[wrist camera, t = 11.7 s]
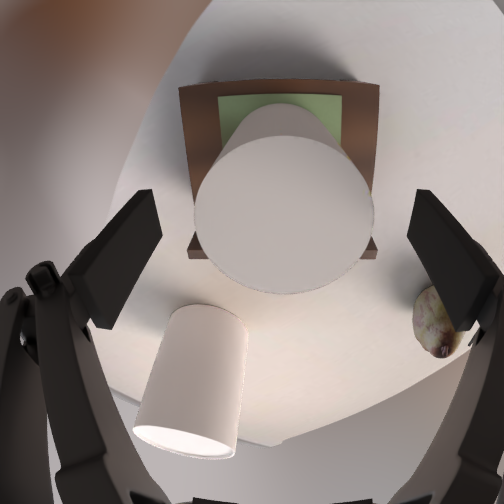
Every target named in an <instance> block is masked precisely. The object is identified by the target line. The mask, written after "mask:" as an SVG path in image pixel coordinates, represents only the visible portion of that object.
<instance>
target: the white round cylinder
mask: <svg viewBox="0 0 504 504" xmlns="http://www.w3.org/2000/svg"><path fill="white" fill-rule="evenodd" d="M194 224H195V230H196V234H197V237H198V240H199V242H200V245H201V247H202V249H203V251H204V252H205V254H206V255H207V257H208V258H209V259H210V261H211V262H212V263H213V264H214V265H215V266H216V267H217V268H218V269H219V270H220V271H221V272H222V273H223V274H225V275H226V276H227V277H229V278H230V279H232V280H233V281H235V282H237V283H239V284H241V285H243V286H246V287H248V288H251V289H254V290H257V291H261V292H266V293H273V294H295V293H302V292H307V291H311V290H315V289H318V288H320V287H323V286H325V285H327V284H329V283H331V282H333V281H335V280H337V279H338V278H340V277H341V276H342V275H344V274H345V273H346V272H347V271H348V270H350V269H351V268H352V267H353V266H354V265H355V263H356V262H357V261H358V260H359V258H360V257H361V256H362V254H363V252H364V251H365V249H366V247H367V245H368V243H369V240H370V237H371V234H372V230H373V224H374V206H373V200H372V196H371V193H370V190H369V188H368V185H367V183H366V181H365V180H364V178H363V176H362V175H361V173H360V172H359V170H358V169H357V168H356V166H355V165H354V164H353V162H352V161H351V160H350V158H349V157H348V155H347V154H346V153H345V151H344V150H343V149H342V148H341V146H340V145H339V144H338V142H337V141H336V140H335V139H334V137H333V136H332V135H331V133H330V132H329V131H328V130H327V129H326V127H325V126H324V125H323V124H322V122H321V121H320V120H319V119H318V118H317V117H316V116H315V115H314V114H312V113H311V112H309V111H308V110H306V109H304V108H302V107H299V106H296V105H293V104H286V103H275V104H270V105H266V106H263V107H260V108H258V109H256V110H254V111H253V112H251V113H250V114H249V115H247V116H246V117H245V118H244V119H243V121H242V122H241V123H240V124H239V126H238V127H237V129H236V130H235V132H234V133H233V135H232V136H231V138H230V139H229V141H228V142H227V144H226V145H225V147H224V148H223V150H222V151H221V153H220V155H219V156H218V158H217V159H216V161H215V162H214V164H213V165H212V167H211V169H210V170H209V172H208V173H207V175H206V177H205V178H204V180H203V182H202V184H201V186H200V188H199V191H198V194H197V197H196V201H195V207H194Z"/></svg>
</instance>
